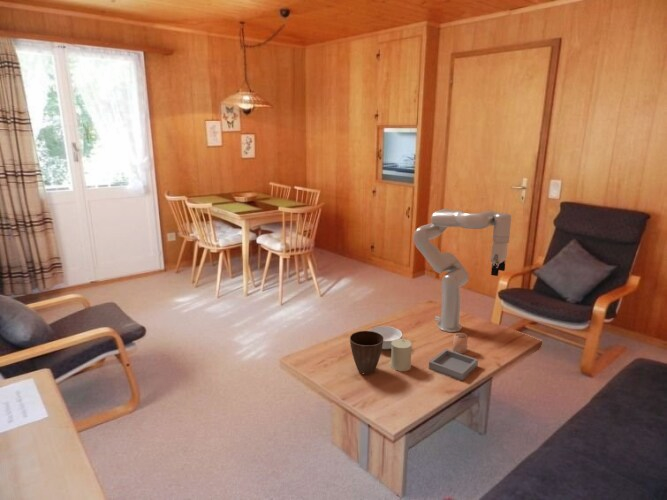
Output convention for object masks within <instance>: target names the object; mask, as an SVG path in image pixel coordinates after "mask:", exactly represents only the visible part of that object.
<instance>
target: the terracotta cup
mask: <svg viewBox="0 0 667 500" xmlns="http://www.w3.org/2000/svg"><path fill="white" fill-rule="evenodd" d="M452 343H453V345H452V351H454V352H457V353H460V354H463V355H465V354H466V353H467V348H468V334H467V333H464V332H454V333H453V341H452Z"/></svg>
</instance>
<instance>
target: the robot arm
mask: <svg viewBox="0 0 667 500" xmlns="http://www.w3.org/2000/svg"><path fill="white" fill-rule="evenodd" d="M511 225H512V215H511V213H508V212H498V211H493V210H485V211H483V212H479V213H465V212H463V211H462V210H461V209H459V210H458V209H457V210H452V209H450V208H442V209H440V210H436V211H434V212H433V213H432V214H431V216H430V223H428V224H424V225H420V226H418V228H416V229H415V230H414V233H413V236H412V238H413V243H414V246H415V247H416V249H417V250H418V251H419V253H421V255H422V256H423V258H424V259H425V261H427V263H428V264H429V266H430V267H431V268H432V269H433V270H434V272H436V273H437V274H443V273H444V272H445V274H444V275H443V276H442V279H441V294H442V295H441V309H440V310H441V313H440V314H441V316H439V315H435V316H434V321H435V322H438V323H437V328H438V329H439V330H441V331H443V332H448V333H458V332H460V331H461V330H462V327H463V326H462V325H461V324H460V315H461V314H460V312H461V311H460V310H461V297H462V296H461V291H460V288H462V287H463V286H464V285H466V284H467V283H468V282H469V280H470V276H469V273H468V270H466V268H465V266H464V265H463V263H461V262H460V260H459V259H458V258H457V256H455V254H453V253H451V252H443V253H442V252H441V251H440V249H439V248H438V247H437V246H436V245H435V244H434V243H432V242H431V240H434V239H436V238H439V236H441V235H442V234H443V233H444V232H445V231H446V230H447V229H448V228H461V229H468V230H469V229H470V230H481V229H482V230H483V229H487V228H488V227H489V228H490V227H492V226H493V229H492V246H491V254H490V263H491V269H490V270H491V273H490V275H491V276H494V277H498V276H499V272H500V271H502V272H505V270H506V259H507V256H508V255H507V254H508V244H510V237H511ZM446 272H447V273H446Z"/></svg>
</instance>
